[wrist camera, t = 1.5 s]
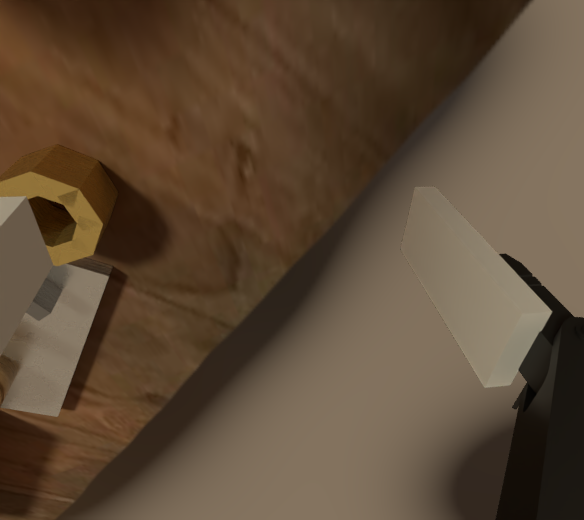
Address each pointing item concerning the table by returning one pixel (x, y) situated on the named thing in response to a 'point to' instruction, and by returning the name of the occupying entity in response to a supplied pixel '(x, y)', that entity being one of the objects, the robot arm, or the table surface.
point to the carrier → (51, 338)
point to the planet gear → (63, 199)
